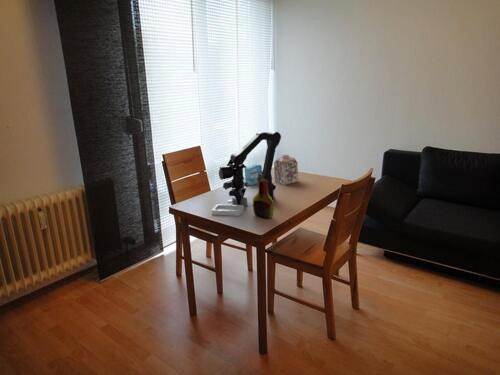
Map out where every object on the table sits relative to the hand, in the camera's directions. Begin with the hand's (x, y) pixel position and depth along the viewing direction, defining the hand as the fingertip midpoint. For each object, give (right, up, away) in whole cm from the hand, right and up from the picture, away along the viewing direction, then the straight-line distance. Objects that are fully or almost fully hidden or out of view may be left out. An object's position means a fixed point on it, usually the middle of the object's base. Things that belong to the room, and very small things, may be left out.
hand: (239, 202), depth 201 cm
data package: (+8, +11, +40) cm, 42 cm away
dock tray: (-6, -4, -9) cm, 12 cm away
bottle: (+13, -6, -18) cm, 23 cm away
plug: (-1, -1, +1) cm, 2 cm away
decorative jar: (+30, +12, +39) cm, 51 cm away
